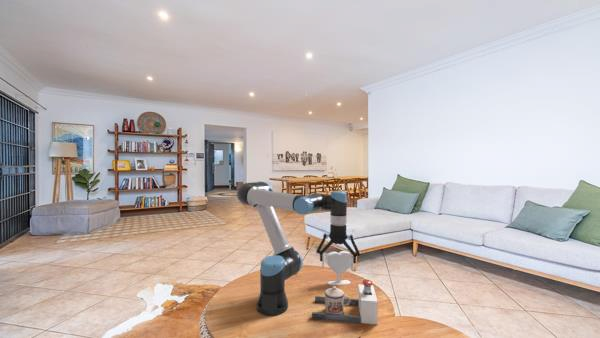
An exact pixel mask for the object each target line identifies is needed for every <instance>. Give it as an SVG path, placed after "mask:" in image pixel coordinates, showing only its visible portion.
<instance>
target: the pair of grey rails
mask: <svg viewBox="0 0 600 338" xmlns="http://www.w3.org/2000/svg"><path fill="white" fill-rule="evenodd" d="M314 302H315V303H321V304H322V303H324V304H325V296H321V295H319V296H318V295H315V296H314ZM347 302H348V298H344V304H346V303H347ZM348 306H359V300H358V298H350V303H349V305H348ZM311 320H320V321H321V320H322V321H332V322H341V323H342V322H343V323H352V324H353V323H354V324H356V323H357V324H362V323H361V316H360V315H352V314H330V313H326V312H315V311H314V312H313V311H312V312H311Z"/></svg>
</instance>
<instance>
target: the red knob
mask: <svg viewBox="0 0 600 338" xmlns="http://www.w3.org/2000/svg"><path fill="white" fill-rule="evenodd" d="M362 285H364V295H371V285H373V281H372V280H370V279H363V280H362Z"/></svg>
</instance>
